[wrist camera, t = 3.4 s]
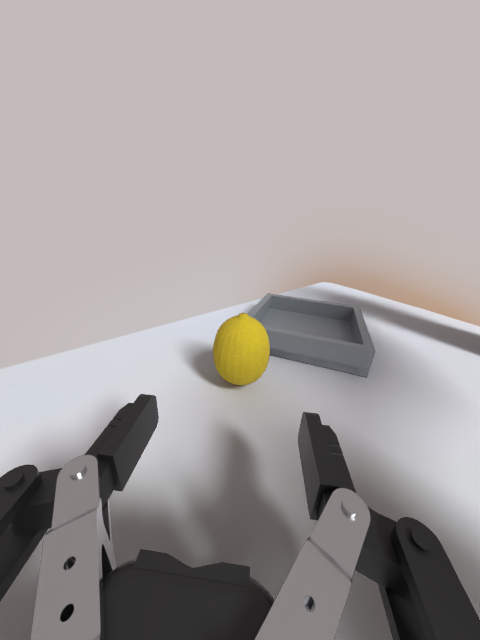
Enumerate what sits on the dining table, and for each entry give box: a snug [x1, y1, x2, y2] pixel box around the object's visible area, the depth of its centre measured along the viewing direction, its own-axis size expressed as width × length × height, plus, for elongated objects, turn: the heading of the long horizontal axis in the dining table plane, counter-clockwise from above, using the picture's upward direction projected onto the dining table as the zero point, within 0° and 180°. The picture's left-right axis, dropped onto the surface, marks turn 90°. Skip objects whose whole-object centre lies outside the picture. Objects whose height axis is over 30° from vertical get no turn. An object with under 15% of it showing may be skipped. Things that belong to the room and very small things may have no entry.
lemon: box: [213, 313, 270, 385], centre depth 22 cm, size 6×6×8 cm
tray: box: [247, 294, 375, 377], centre depth 35 cm, size 16×16×4 cm
